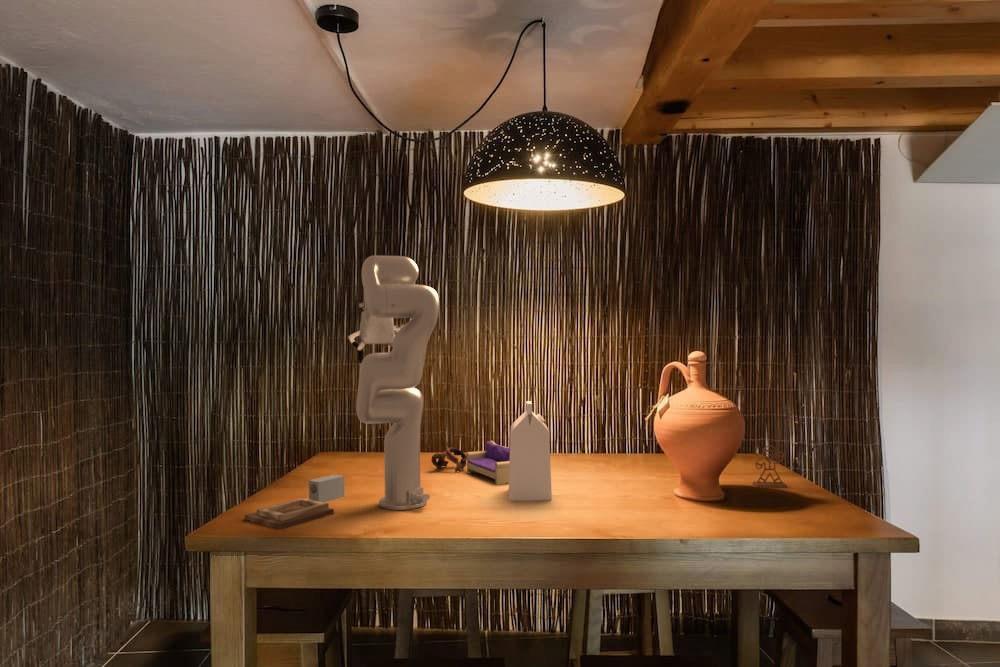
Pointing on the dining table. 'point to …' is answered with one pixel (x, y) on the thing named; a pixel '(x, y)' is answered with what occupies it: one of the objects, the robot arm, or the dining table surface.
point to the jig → (290, 513)
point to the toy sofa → (491, 462)
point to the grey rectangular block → (326, 488)
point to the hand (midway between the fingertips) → (377, 362)
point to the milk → (529, 458)
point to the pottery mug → (451, 457)
